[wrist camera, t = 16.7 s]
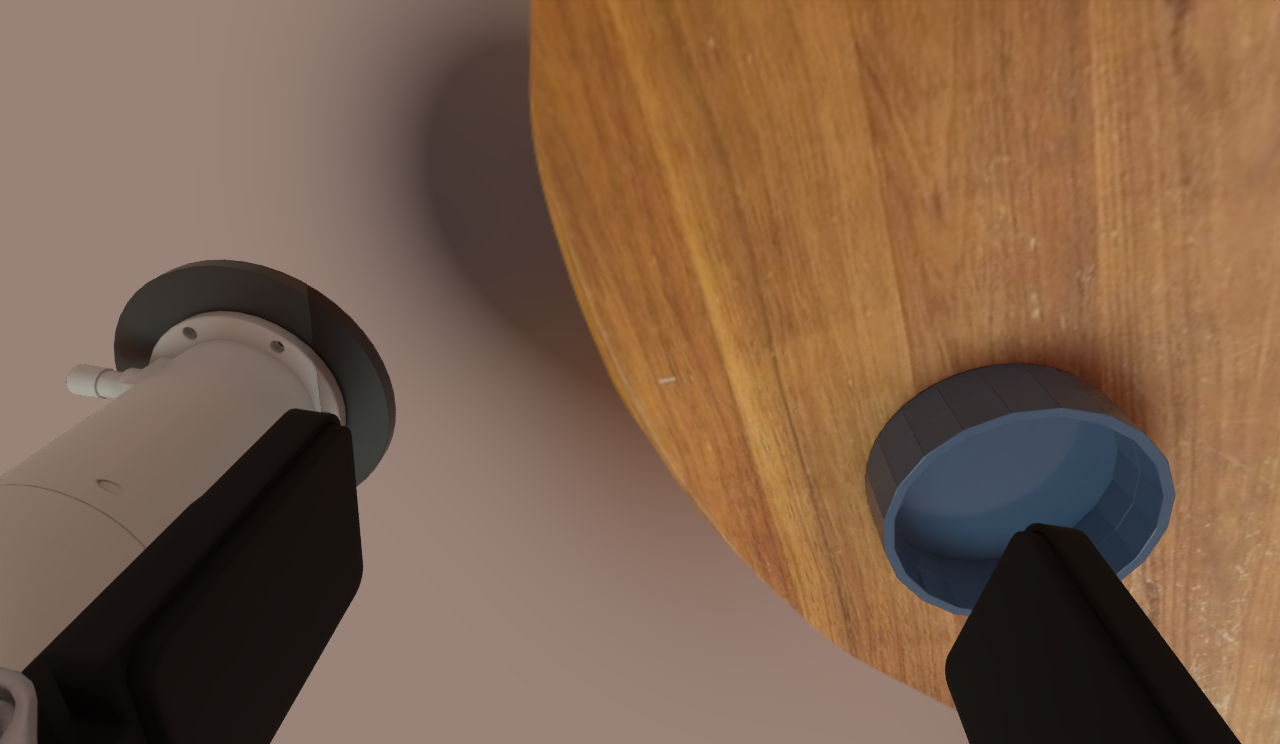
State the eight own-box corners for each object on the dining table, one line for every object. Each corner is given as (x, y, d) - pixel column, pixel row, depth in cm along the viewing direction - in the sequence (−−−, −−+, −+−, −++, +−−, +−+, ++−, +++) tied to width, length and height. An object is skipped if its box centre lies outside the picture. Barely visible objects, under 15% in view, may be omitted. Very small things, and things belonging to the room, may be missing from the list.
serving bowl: (836, 541, 46) (851, 598, 41) (910, 344, 39) (937, 388, 34) (1056, 575, 46) (1094, 635, 42) (1171, 385, 39) (1232, 434, 34)
